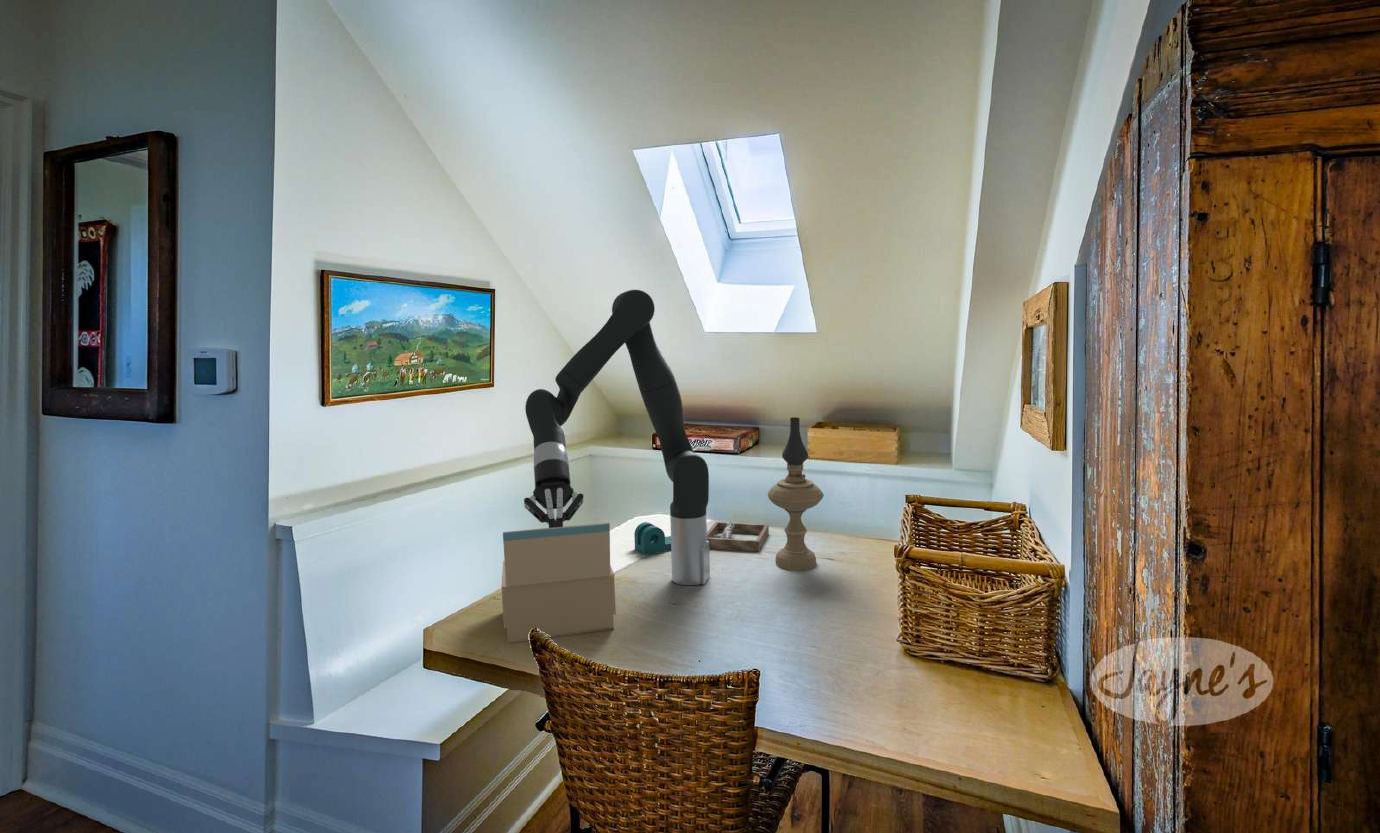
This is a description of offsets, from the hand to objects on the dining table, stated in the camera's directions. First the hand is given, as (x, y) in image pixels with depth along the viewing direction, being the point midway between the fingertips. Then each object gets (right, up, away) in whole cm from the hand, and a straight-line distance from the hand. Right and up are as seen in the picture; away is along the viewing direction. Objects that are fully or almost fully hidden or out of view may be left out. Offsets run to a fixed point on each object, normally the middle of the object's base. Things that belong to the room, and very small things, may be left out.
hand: (556, 537), depth 136 cm
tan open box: (-2, -21, +13) cm, 24 cm away
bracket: (+20, -15, +63) cm, 68 cm away
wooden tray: (+41, -13, +68) cm, 80 cm away
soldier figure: (+38, -13, +69) cm, 80 cm away
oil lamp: (+56, -16, +46) cm, 74 cm away
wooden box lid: (0, -4, +1) cm, 4 cm away
